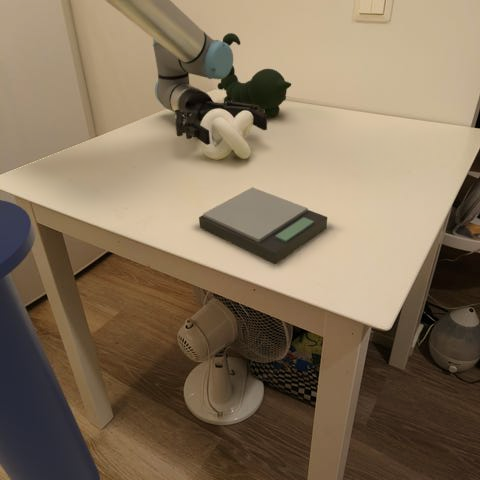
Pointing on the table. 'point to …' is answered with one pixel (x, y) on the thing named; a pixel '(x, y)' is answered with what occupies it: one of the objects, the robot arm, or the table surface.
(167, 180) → the table surface
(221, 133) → the white knot sculpture
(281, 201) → the scale
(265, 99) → the toy figurine
